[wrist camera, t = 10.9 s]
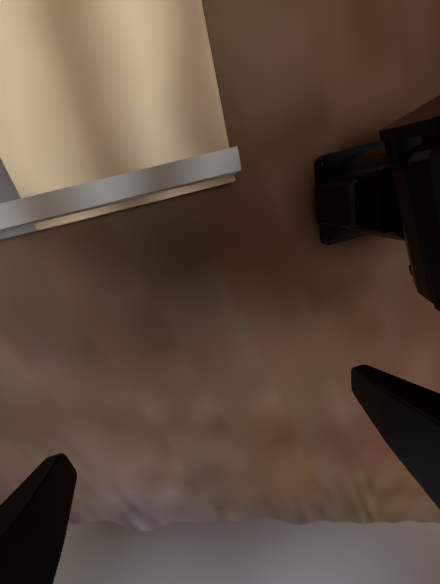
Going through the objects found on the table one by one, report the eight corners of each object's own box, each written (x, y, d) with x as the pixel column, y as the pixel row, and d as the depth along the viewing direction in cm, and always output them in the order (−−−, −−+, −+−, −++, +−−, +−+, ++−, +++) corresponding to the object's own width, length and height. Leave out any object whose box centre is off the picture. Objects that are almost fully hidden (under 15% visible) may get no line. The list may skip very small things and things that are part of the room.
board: (172, -113, 12) (169, -230, 9) (231, 182, 17) (243, 177, 14) (-277, -36, 11) (-473, -139, 8) (-72, 258, 16) (-136, 271, 13)
